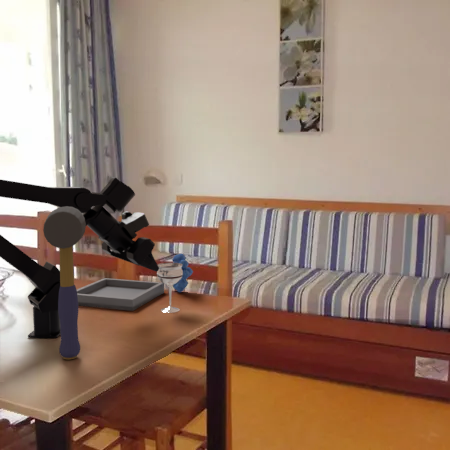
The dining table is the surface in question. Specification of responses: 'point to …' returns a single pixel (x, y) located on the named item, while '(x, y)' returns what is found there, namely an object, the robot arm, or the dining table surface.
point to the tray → (119, 293)
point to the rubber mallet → (66, 272)
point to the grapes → (186, 272)
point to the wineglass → (170, 279)
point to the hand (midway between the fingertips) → (148, 267)
